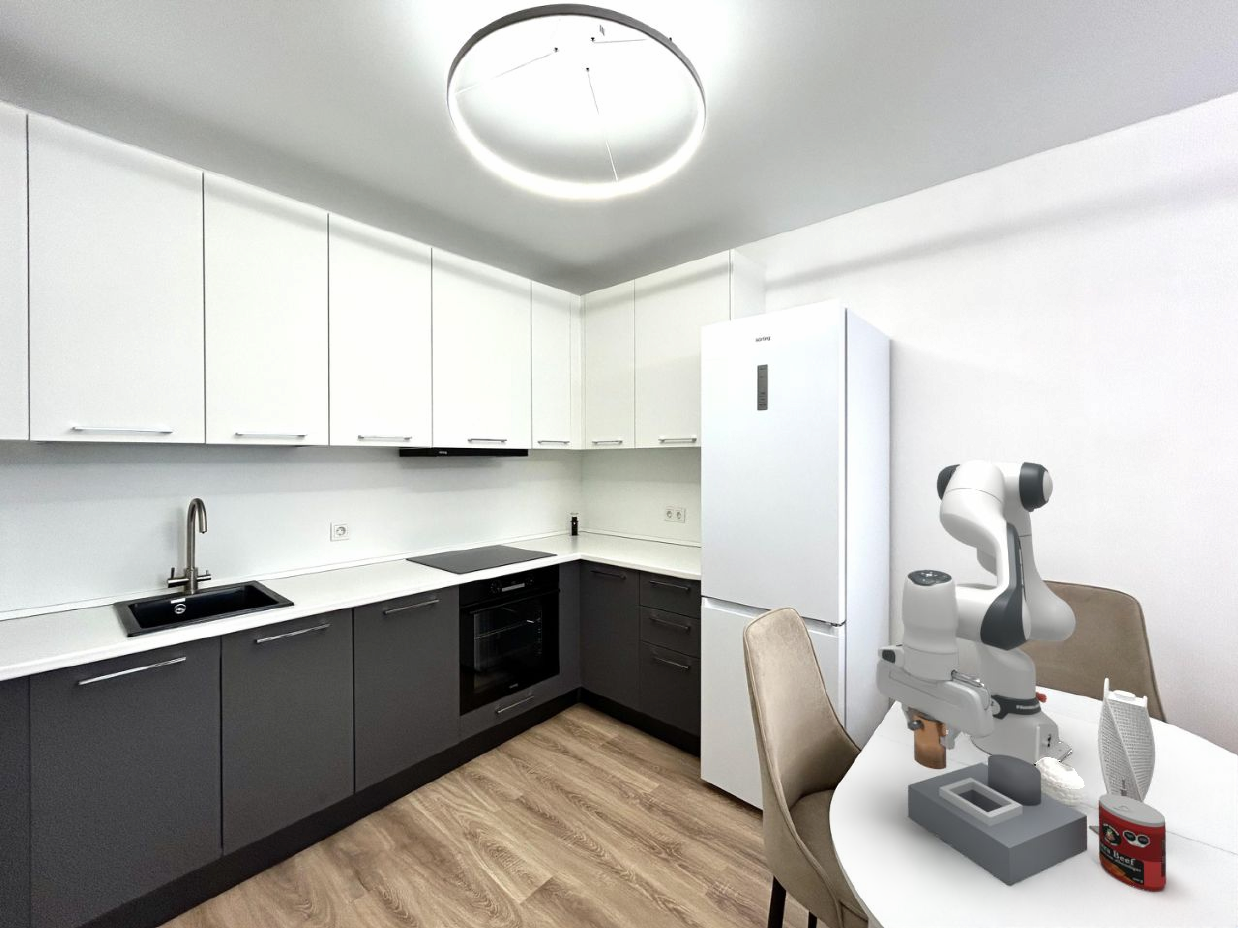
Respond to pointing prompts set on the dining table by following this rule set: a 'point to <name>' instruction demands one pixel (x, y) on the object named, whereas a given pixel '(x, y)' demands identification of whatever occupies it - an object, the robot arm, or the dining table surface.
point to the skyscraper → (1125, 745)
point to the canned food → (1132, 842)
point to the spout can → (928, 740)
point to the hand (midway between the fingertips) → (930, 738)
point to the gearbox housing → (999, 817)
